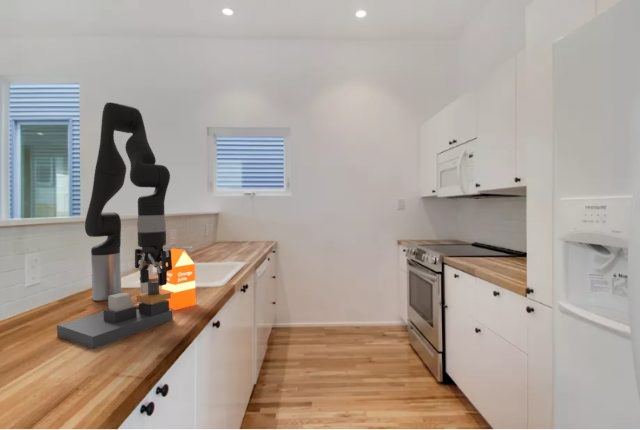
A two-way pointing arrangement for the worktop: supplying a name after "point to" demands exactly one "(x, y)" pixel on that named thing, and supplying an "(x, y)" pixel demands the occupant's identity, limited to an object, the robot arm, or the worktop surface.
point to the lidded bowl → (151, 278)
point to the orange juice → (180, 280)
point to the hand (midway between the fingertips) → (153, 283)
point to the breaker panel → (114, 324)
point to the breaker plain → (119, 302)
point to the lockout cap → (153, 294)
